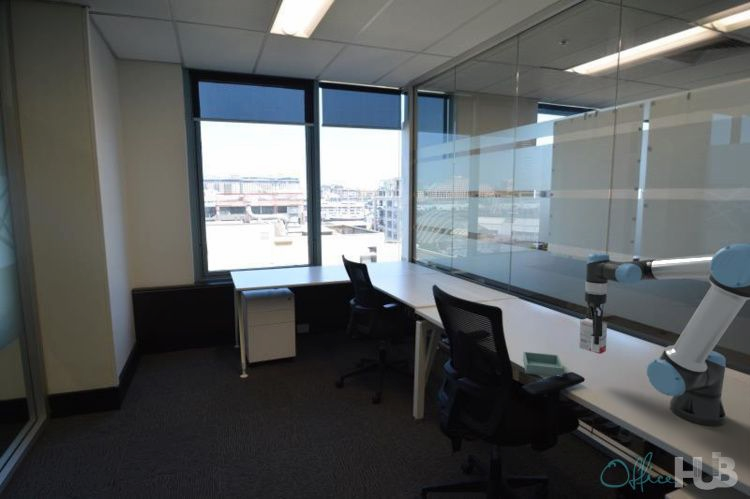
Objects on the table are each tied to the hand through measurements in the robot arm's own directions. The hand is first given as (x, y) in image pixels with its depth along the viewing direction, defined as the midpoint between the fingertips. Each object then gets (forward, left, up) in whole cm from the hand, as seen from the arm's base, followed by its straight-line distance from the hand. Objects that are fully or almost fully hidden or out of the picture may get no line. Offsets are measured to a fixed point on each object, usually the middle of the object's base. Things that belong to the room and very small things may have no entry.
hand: (592, 347), depth 165 cm
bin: (+7, +17, -14) cm, 23 cm away
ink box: (0, 0, -1) cm, 1 cm away
